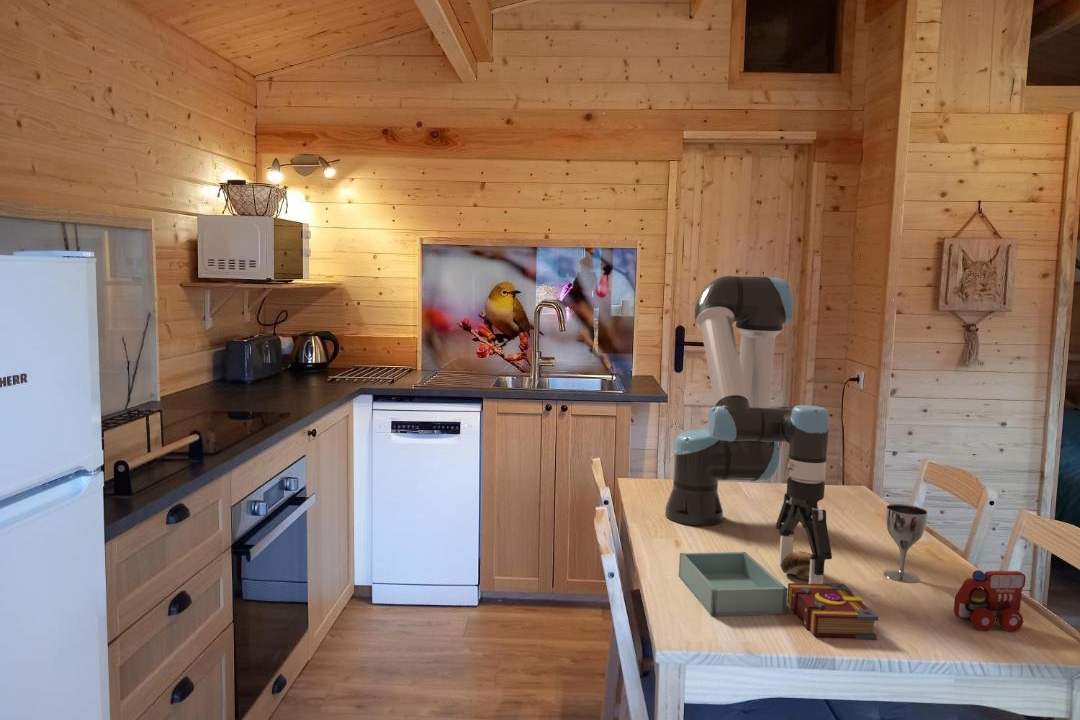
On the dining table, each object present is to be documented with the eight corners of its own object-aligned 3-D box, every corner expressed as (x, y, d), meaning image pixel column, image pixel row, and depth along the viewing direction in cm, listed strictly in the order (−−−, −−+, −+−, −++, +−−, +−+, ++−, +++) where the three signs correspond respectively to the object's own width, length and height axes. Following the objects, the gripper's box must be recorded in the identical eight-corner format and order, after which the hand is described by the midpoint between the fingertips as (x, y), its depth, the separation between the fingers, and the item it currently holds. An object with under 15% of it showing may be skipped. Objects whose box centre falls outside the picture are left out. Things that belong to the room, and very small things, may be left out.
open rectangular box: (678, 576, 159) (679, 553, 158) (744, 574, 161) (745, 552, 160) (711, 616, 140) (713, 590, 139) (785, 614, 142) (787, 588, 141)
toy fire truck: (943, 614, 144) (947, 562, 143) (1006, 616, 144) (1011, 564, 143) (964, 631, 137) (969, 576, 136) (1030, 633, 137) (1036, 578, 136)
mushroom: (824, 573, 154) (813, 544, 157) (786, 583, 156) (776, 554, 159) (825, 579, 161) (815, 551, 164) (789, 589, 163) (779, 561, 166)
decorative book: (813, 639, 132) (815, 612, 132) (783, 601, 148) (784, 577, 148) (877, 641, 132) (879, 614, 132) (840, 603, 148) (842, 578, 148)
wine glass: (918, 572, 165) (924, 506, 164) (924, 585, 158) (930, 516, 156) (879, 567, 168) (884, 502, 166) (883, 580, 160) (888, 511, 159)
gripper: (764, 465, 170) (758, 555, 172) (818, 495, 146) (811, 600, 148) (795, 465, 171) (789, 555, 173) (854, 494, 147) (847, 599, 149)
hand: (799, 576), depth 161 cm, fingers open, 13 cm apart
